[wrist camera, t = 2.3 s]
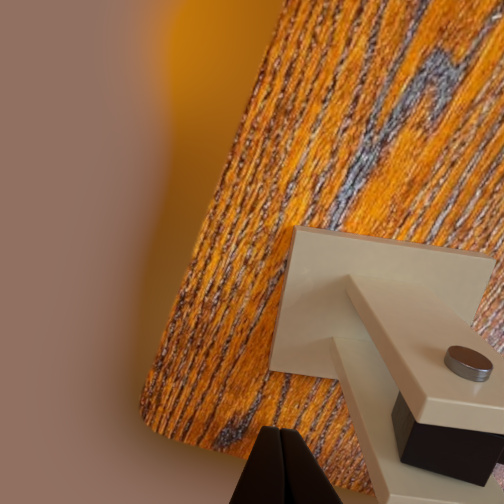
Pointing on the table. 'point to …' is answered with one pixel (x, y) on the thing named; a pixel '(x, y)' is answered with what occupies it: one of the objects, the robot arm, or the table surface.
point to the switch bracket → (393, 347)
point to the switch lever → (446, 447)
